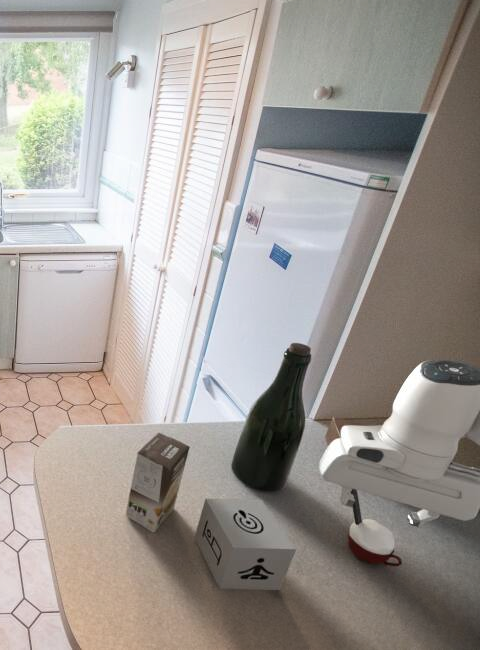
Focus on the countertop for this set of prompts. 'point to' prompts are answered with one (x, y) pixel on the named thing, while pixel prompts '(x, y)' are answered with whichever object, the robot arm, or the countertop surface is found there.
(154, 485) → the coffee box
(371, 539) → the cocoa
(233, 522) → the icon cube
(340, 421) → the walnut block
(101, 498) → the countertop surface
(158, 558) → the countertop surface
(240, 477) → the beer bottle
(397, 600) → the countertop surface
